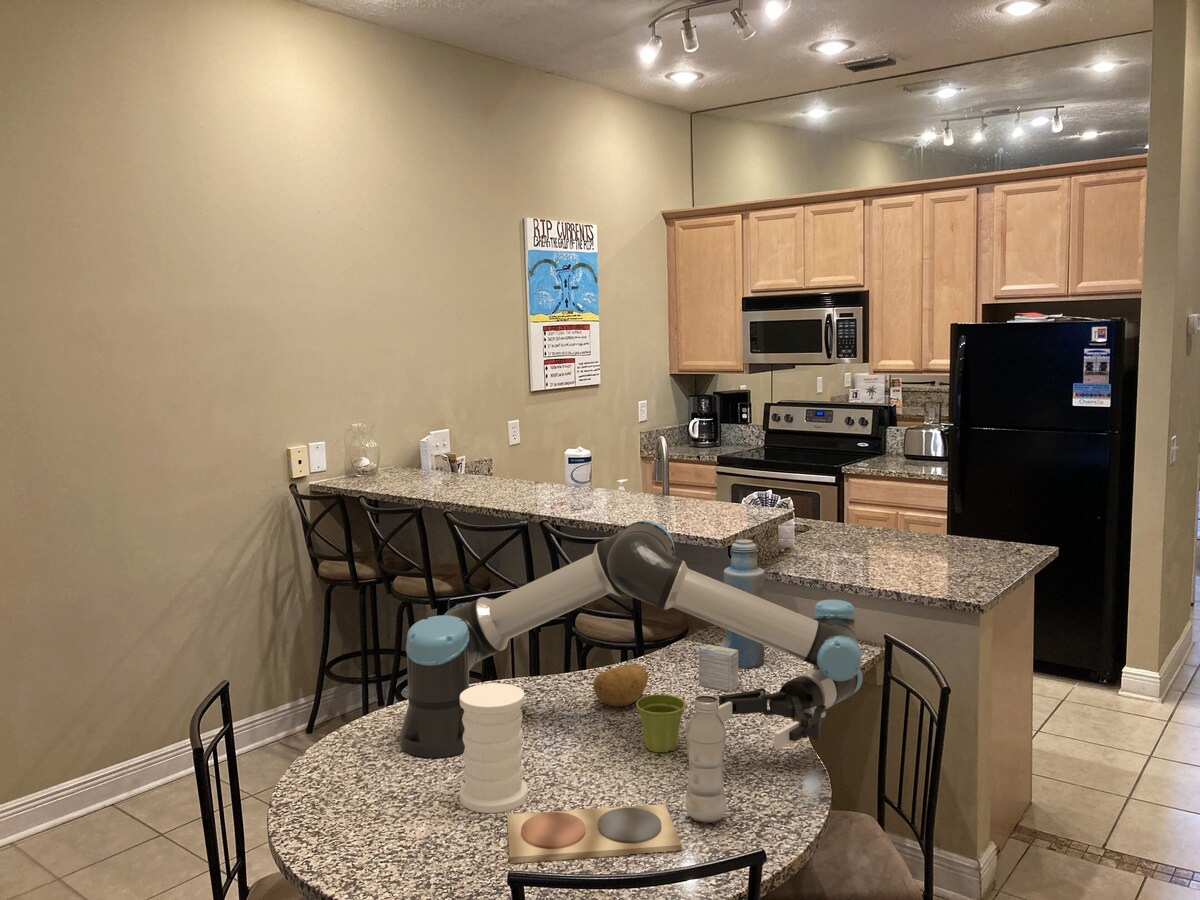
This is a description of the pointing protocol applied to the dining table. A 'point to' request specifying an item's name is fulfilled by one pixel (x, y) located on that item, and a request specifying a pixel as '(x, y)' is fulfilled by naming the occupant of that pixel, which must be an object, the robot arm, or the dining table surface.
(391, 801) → the dining table surface
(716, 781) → the plastic bottle
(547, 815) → the board
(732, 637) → the bottle
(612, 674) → the potato
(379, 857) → the dining table surface
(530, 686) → the dining table surface
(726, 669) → the medicine box
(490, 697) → the decorative container
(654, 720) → the plant pot
